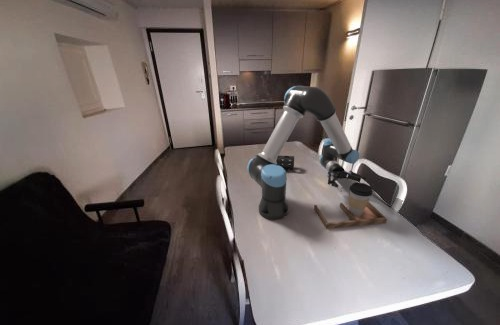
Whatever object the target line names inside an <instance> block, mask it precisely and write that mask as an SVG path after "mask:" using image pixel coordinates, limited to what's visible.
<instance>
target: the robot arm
mask: <svg viewBox="0 0 500 325" xmlns="http://www.w3.org/2000/svg"><path fill="white" fill-rule="evenodd" d="M283 100H284V102H283V103H284V104H283V106H282V108H283V112H282V114H281V116H280V118H279V120H278V122H277V124H276V125H275V127H274V129H273V130H272V133H271V135H270V136H269V139H268V141H267V142H266V144H265V145H264V148H263V150H262V151H261V152H259V153H257V154H256V155H257V156H256V157H255V156H254V157H253V158H251V159H249V161H248V163H247V165H246V166H247V167H246V170H247V173H248V175H249V176H250V178H251V179H253V181H255V183H256V184H257V185H258V186H260V188H261V198H260V201H259V204H258V212H259V215H260V216H261V217H263V218H264V219H267V220H271V221H279V220H283V219H284V218H285V217H287V216H288V214H289V211H290V210H289V208H290V207H289V204H288V202H287V198H286V193H287V192H286V191H287V180H288V178H287V171H286V169H284V168H282V167H281V166H279V165H277V162H276V160H277V157H278V156H280V153H281V152H282V150H283V148H284V147H285V144H286V142H287V141H288V139H289V137H290V136H291V134H292V133H293V130H294V128H295V126H296V125H297V123H298V121H299V120H300V119H302V118H304V117H305V115H306V114H307V113H309V114H311V115H313V117H314V118H315V119H316V120H317V122H319V123H320V125H321V126H322V128H323V130H324V131H325V133H326V135H327V138H325V139H324V141H323V148H322V155H320V157H319V160H318V161H319V162H318V163H320V165H321V167H323V168H324V169H325V170H326V171H327V176H326V177H327V178H328V179H327V185H329V186H330V185H331V187H334V188H336V189H337V190H338V191H339V192H340V193H342V192H343V190H344V189H343V188H344V187H343V185H342V184H340V183H339V182H338V180H339V179H340V180H341V179H346V180H351V181H355V182H356V183H364V184H367V185H369V186H370V187H371V185H370V184H369V183H368V182H367V176H364V175H361V174H359V173H356V172H354V171H352V170H349V171H346V170H345V168H344V167H343V166H342V165H340V163H338V162H337V161H336V158H337V159H339V160H341V161H343V162H346V163H348V164H352V165H353V164H355V163H356V162H358V160H359V158H360V152H359V151H358V150H356V149H353V147H352V145H351V143H350V141H349V139H348V137H347V135H346V133H345V130H344V129H343V126H342V125H341V123H340V119H339V117H338V115H337V114H336V112H337V109H336V108H337V107H336V106H335V104H334V102H333V101H332V99H331V98H330V96H329V95H328V94H327V93H326V92H325V91H324V90H323V89H322V88H319V87H318V86H308V85H307V86H306V85H305V86H304V85H294V86H292V87H290V88H289V89H287V91H286V92H285V94H284V97H283ZM276 165H277V166H276ZM332 177H333V179H332Z"/></svg>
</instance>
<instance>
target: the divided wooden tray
mask: <svg viewBox="0 0 500 325" xmlns="http://www.w3.org/2000/svg"><path fill="white" fill-rule="evenodd" d="M339 209H340V210H341V211H342V212H343V213H344V215H345V216H346V217H347V218H348V219H349V220H343V221H342V220H341V221H331V222H328V221H327V219H326V218H325V215H323V213H322V211H321V210H320V209H319V207H318V206H317V205H316V204H315V205H314V207H313V210H314V212H315V214H316V215H317V217H318V218H319V220H320V221H321V223H322V225H323V226H324V228H325V229H326V230H327V229H339V228H349V227H360V226H368V225H369V226H370V225H381V224H386V223H387V219H388V218H387V217H386V216H385V215H383V214H382V212H381V211H379V210H378V209H377V208H376V207H375V206H374V205H373V204H372V203H371V202H370V201H368V203H367V205H366V207H365V209H364V211H363V214H362V216H360V217H354V216H353V215H352V214H351V213H350V211H349V205H347V206H346V205H345V204H344V203H343V202H339Z"/></svg>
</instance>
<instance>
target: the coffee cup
mask: <svg viewBox="0 0 500 325" xmlns="http://www.w3.org/2000/svg"><path fill="white" fill-rule="evenodd" d="M369 185H370V184H369ZM369 185H367V184H364V183H360V182H354V183H352V184H351V185H350V186H349V193H348V194H349V197H348V206H349V211H350V213H351V214H352V215H353V216H354V217H360V216H362V214H363V211H364V209H365V207H366V205H367V203H368V202H369V200H370V196H373V190H372V187H371V185H370V186H369Z"/></svg>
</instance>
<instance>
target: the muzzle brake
mask: <svg viewBox="0 0 500 325" xmlns="http://www.w3.org/2000/svg"><path fill="white" fill-rule="evenodd" d="M256 156H257V154H256V155H254V157H256ZM276 162H277V165H279V166H281V167H282V168H284V170H293V169H295V155H279V156H278V157H277V159H276ZM277 165H276V166H277Z"/></svg>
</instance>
